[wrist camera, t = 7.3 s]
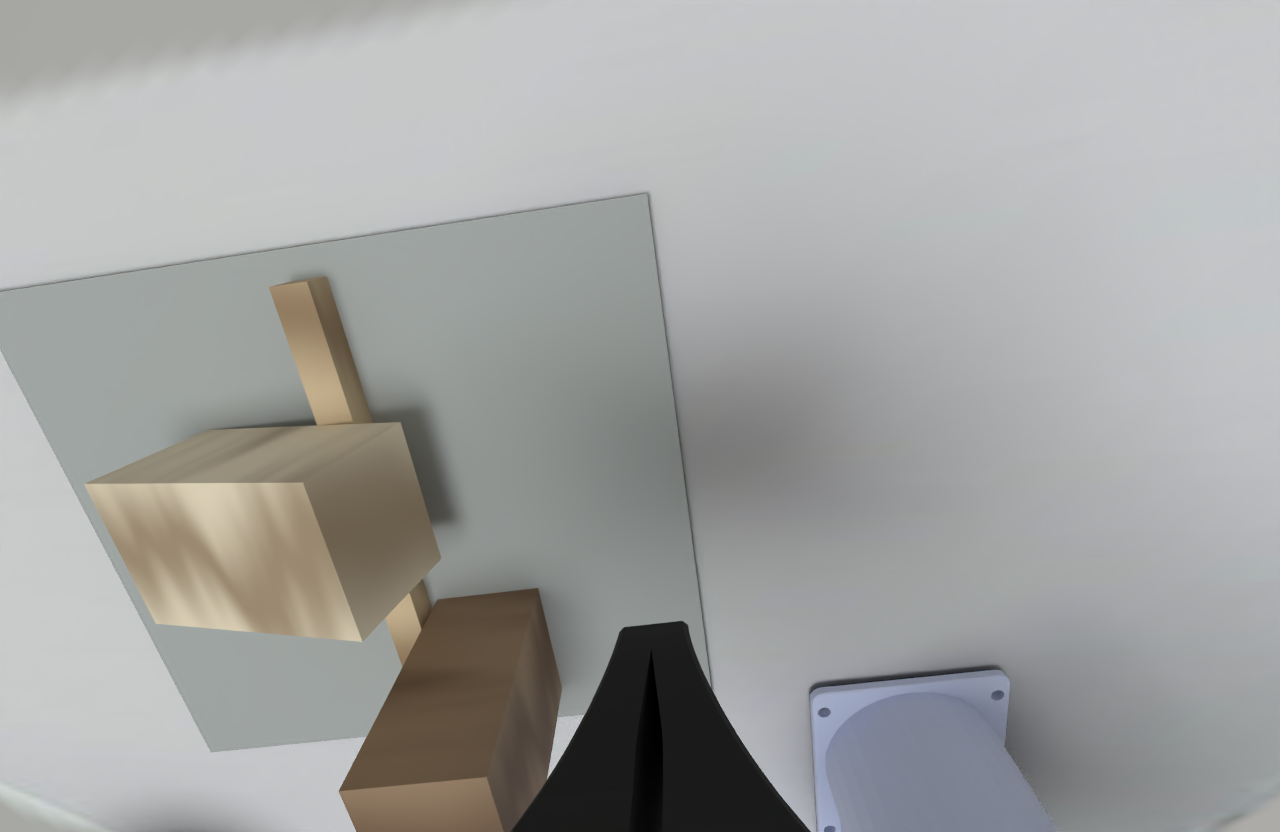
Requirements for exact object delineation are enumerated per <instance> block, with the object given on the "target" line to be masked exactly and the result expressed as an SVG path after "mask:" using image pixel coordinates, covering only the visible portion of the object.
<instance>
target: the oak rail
mask: <svg viewBox="0 0 1280 832" xmlns="http://www.w3.org/2000/svg"><path fill="white" fill-rule="evenodd" d="M269 290H270V293H271V295H272V298H273V301H274V304H275V307H276V310H277V312H278V315H279V318H280V321H281V324H282V327H283V329H284V332H285V335H286V338H287V341H288V344H289V346H290V349H291V352H292V355H293V358H294V361H295V363H296V366H297V369H298V372H299V375H300V378H301V381H302V383H303V386H304V389H305V392H306V395H307V398H308V400H309V403H310V406H311V409H312V412H313V415H314V417H315V420H316V423H317V425H341V424H366V423H373V420H372V417H371V414H370V411H369V408H368V404H367V401H366V398H365V395H364V392H363V389H362V385H361V382H360V379H359V376H358V373H357V370H356V367H355V363H354V360H353V357H352V354H351V351H350V348H349V344H348V341H347V338H346V335H345V332H344V329H343V326H342V322H341V319H340V316H339V313H338V310H337V307H336V303H335V300H334V297H333V294H332V291H331V288H330V285H329V281H328V278H327V276H324V277H317V278H311V279H304V280H297V281H291V282H287V283H283V284H279V285H275V286H271V287H269ZM431 610H432V606H431V603H430V600H429V597H428V594H427V591H426V587H425V584H424V581H423V579H422V580H421V581H420V582H419V583H418V584H417V585H416V586H415V587H414V588H413V589H412V590H411V591H410V592H409V593H408V595H407V596H406V597H405V598H404V599H403V600H402V601H401V602H400V603H399V604H398V605H397V606H396V607H395V608H394V609H393V610H392V611H391V612H390V613H389V615H388V616H387V617H386V618H385V619H386V622H387V625H388V628H389V630H390V633H391V636H392V639H393V642H394V645H395V647H396V650H397V653H398V656H399V659H400V662H401V665H402V667H403V665H404V663H405V661H406V659H407V657H408V655H409V653H410V651H411V649H412V648H413V646H414V644H415V642H416V640H417V638H418V636H419V634H420V632H421V630H422V628H423V626H424V624H425V622H426V620H427V618H428V616H429V614H430V612H431Z"/></svg>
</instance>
